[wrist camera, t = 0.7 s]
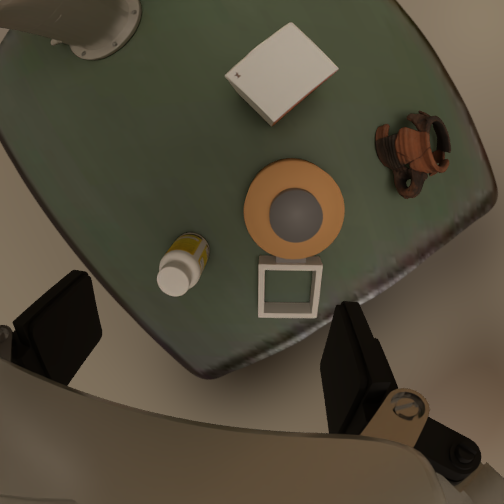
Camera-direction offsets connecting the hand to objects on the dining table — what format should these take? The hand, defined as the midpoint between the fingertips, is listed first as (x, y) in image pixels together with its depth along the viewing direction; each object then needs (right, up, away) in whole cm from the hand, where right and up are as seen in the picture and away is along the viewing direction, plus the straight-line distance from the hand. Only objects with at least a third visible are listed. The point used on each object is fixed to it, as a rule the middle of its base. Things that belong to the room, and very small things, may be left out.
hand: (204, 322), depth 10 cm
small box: (+5, +23, +23) cm, 33 cm away
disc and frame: (+7, +4, +31) cm, 32 cm away
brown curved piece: (+23, +16, +25) cm, 38 cm away
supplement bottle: (-7, +3, +32) cm, 33 cm away
